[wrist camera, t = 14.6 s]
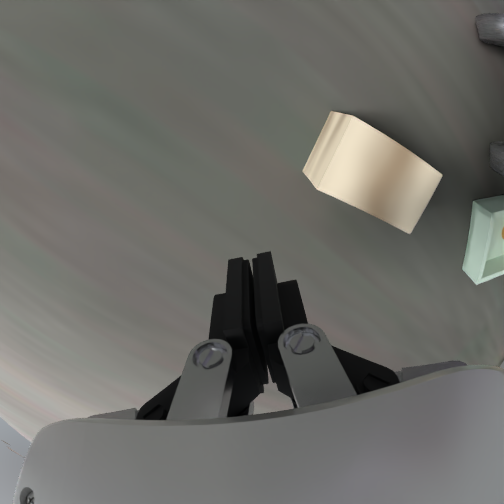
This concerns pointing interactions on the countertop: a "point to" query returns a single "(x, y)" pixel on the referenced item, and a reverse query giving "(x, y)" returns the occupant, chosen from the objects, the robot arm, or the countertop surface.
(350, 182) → the block
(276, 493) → the robot arm
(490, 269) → the tray
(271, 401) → the countertop surface
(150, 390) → the countertop surface
